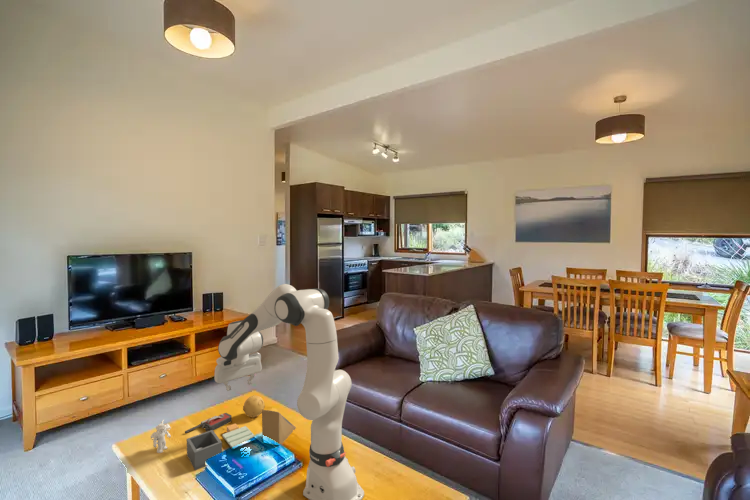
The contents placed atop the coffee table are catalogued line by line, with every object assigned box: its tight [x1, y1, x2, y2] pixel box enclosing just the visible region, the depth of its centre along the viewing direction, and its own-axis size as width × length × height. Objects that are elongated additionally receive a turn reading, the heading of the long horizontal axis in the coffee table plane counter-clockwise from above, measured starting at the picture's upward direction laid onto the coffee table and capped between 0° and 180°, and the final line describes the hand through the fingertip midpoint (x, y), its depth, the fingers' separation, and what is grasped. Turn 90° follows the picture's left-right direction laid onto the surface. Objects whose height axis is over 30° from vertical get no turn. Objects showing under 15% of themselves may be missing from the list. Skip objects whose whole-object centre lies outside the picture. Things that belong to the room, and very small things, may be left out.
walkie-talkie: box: [184, 412, 233, 434], centre depth 164 cm, size 9×4×20 cm
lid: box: [221, 423, 256, 448], centre depth 154 cm, size 16×10×3 cm, turn 42°
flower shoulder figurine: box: [150, 418, 172, 454], centre depth 146 cm, size 9×4×12 cm, turn 169°
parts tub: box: [186, 430, 223, 471], centre depth 141 cm, size 12×10×7 cm
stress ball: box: [242, 395, 266, 418], centre depth 173 cm, size 10×10×10 cm
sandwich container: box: [261, 409, 297, 445], centre depth 157 cm, size 9×15×15 cm, turn 164°
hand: (239, 387), depth 156 cm, fingers open, 8 cm apart
